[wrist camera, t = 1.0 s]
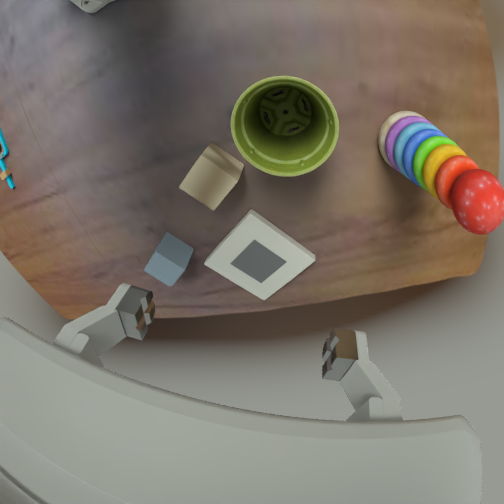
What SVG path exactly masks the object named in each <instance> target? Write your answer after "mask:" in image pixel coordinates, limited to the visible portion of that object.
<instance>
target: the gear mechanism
mask: <svg viewBox="0 0 504 504" xmlns="http://www.w3.org/2000/svg"><path fill="white" fill-rule="evenodd" d="M0 144H1V147H2V151H0V166H1V168H2V171H3V172H2V173H1V174H0V177H1V179H2V180H4V179H5V178H6V179H7V182H8V184H9V186H10V188H11V189H12V188H13V187H14V186H15V185H14V182H13V180H12V178H11V176H10V174H11V171H10V169H9V168H8V169H7V167H6V165H5V162H4V160H3V157H4V156H5V155H7V154H8V152H9V150H8V147H7V145H6V142H5V140H4V137H3V134H2V131H1V129H0Z"/></svg>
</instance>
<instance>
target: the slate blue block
mask: <svg viewBox="0 0 504 504" xmlns="http://www.w3.org/2000/svg"><path fill="white" fill-rule="evenodd" d="M193 250H194V248H192V247H190V246H189V245H187V244H186V243H184V242H183V241H181V240H180V239H178V238H176V237H175V236H173V235H172V234H170V233H169V232H167V233H166V234H165V236H164V237H163V239H162V240H161V242H160V244H159V245H158V247H157V248H156V250H155V251H154V253H153V255H152V257H151V258H150V260H149V262H148V264H147V266H146V267H145V269H144V271H145V272H147V273H148V274H150V275H152V276H153V277H155V278H156V279H158V280H160V281H161V282H163V283H165V284H166V285H168V286H170V287H172V285H173V284H174V283H175V282H176V281H177V279H178V278H179V277H180V276H181V274H182V273H183V272H184V271H185V269H186V267H187V264H188V262H189V260H190V257H191V255H192V253H193Z"/></svg>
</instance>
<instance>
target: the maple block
mask: <svg viewBox="0 0 504 504" xmlns="http://www.w3.org/2000/svg"><path fill="white" fill-rule="evenodd" d="M243 167H244V164H242V163H241V162H240V161H238V160H237V159H235V158H234V157H233V156H231V155H230V154H228V153H227V152H226V151H224V150H223V149H221V148H220V147H218V146H217V145H216V144H214V143H213V142H211V143H210V144H209V146H208V147H207V148H206V149H205V150H204V152H203V153H202V154H201V155H200V157H199V158H198V160H197V161H196V163H195V164H194V165H193V167H192V168H191V170H190V171H189V173H188V174H187V176H186V177H185V179H184V180H183V182H182V183H181V185H180V186H179V188H180V189H182V190H183V191H185V192H186V193H188V194H189V195H191V196H192V197H194V198H195V199H197V200H198V201H200V202H201V203H203V204H204V205H206V206H207V207H209V208H210V209H212V210H213V211H214V210H215V209H216V207H217V206H218V205H219V204H220V202H221V201H222V200H223V199H224V198H225V196H226V195H227V194H228V193H229V192H230V190H231V189H232V188H233V187H234V185H235V184H236V183H237V182H238V180H239V178H240V175H241V172H242V170H243Z"/></svg>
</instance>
